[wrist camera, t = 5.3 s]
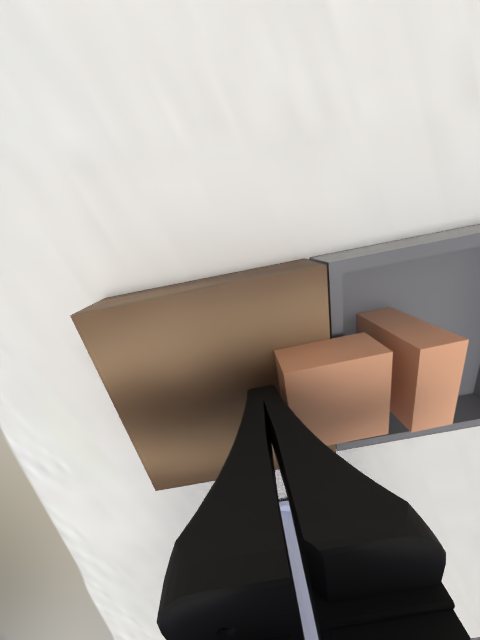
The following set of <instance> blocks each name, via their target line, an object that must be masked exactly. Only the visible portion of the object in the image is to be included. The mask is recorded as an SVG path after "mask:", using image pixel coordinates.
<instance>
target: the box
mask: <svg viewBox="0 0 480 640" xmlns="http://www.w3.org/2000/svg"><path fill="white" fill-rule="evenodd" d="M310 260H311V261H314V262H318V263H321V264H324V265H327V284H328V305H329V325H330V339H333V338H338V337H343V336H348V335H353V334H357V314H359V313H364V312H369V311H374V310H378V309H383V308H388V307H391V308H394V309H396V310H399V311H401V312H403V313H406V314H408V315H411V316H413V317H416V318H418V319H420V320H423V321H425V322H428V323H430V324H433V325H435V326H437V327H440V328H442V329H445V330H447V331H450V332H452V333H454V334H457V335H459V336H462V337H464V338H467V339H469V342H468V348H467V353H466V358H465V363H464V368H463V373H462V378H461V383H460V388H459V393H458V398H457V403H456V409H455V414H454V419H453V424H450V425H445V426H440V427H436V428H431V429H426V430H421V431H417V432H412V433H411V432H410V431H409V430H408V429H407V428H406V427H405V426H404V425H403V424H402V423H401V422H400V421H399V420H398V419H397V417H396V416H395V415H394V414H393V413H392V412H391V411H390V413H389V430H388V434H385V435H380V436H375V437H370V438H365V439H360V440H354V441H349V442H344V443H339V444H335V447H336V450H337V451H340V450H346V449H352V448H357V447H363V446H369V445H374V444H380V443H386V442H391V441H397V440H403V439H408V438H414V437H419V436H425V435H431V434H436V433H442V432H448V431H453V430H459V429H465V428H470V427H476V426H480V224H477V225H472V226H467V227H462V228H457V229H452V230H447V231H442V232H437V233H432V234H427V235H422V236H417V237H412V238H407V239H402V240H397V241H391V242H386V243H381V244H376V245H371V246H366V247H361V248H356V249H351V250H346V251H341V252H336V253H331V254H326V255H321V256H316V257H311V258H310Z"/></svg>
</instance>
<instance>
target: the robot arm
mask: <svg viewBox="0 0 480 640" xmlns="http://www.w3.org/2000/svg"><path fill="white" fill-rule="evenodd" d="M272 446H273V449H274V452H275V456H276V459H277V462H278V466H279V469H280V472H281V476H282V479H283V483H284V486H285V489H286V493H287V497H288V501H282V502H279V500H278V493H277V485H276V477H275V468H274V459H273V450H272ZM445 565H446V552H445V550H444V549H443V547H442V545H441V544H440V542H439V541H438V539H437V538H436V536H435V535H434V533H433V532H432V531H431V529H430V528H429V527H428V526H427V524H426V523H425V522H424V521H423V519H422V518H421V517H420V516H419V515H418V513H417V512H416V511H415V510H414V509H413V508H412V506H411V505H410V504H409V503H408V502H407V501H405V500H403V499H402V498H400V497H398V496H397V495H395V494H394V493H392V492H390V491H389V490H387V489H386V488H384V487H382V486H381V485H379V484H378V483H376V482H375V481H373V480H372V479H370V478H369V477H367V476H366V475H364V474H363V473H362V472H360V471H359V470H357V469H356V468H355V467H353V466H352V465H351V464H349V463H348V462H347V461H345V460H344V459H343V458H341V457H340V456H339V455H337V454H336V453H335V452H334V451H333V450H331V449H330V448H329V447H328V446H327V445H325V444H324V443H323V442H322V441H321V440H320V439H319V438H318V437H317V436H315V435H314V434H313V433H312V432H311V431H310V430H309V429H308V428H307V427H306V426H305V425H304V424H303V422H302V421H301V420H300V419H299V418H298V417H297V416H296V415H295V414H294V412H293V411H292V410H291V409H290V408H289V406H288V405H287V404H286V403H285V401H284V400H283V399H282V397H281V396H280V394H279V393H278V391H277V389H276V387H275V386H274V385H268V386H263V387H258V388H252V389H249V390H248V391H247V399H246V404H245V409H244V413H243V416H242V420H241V423H240V426H239V429H238V432H237V435H236V438H235V440H234V443H233V445H232V448H231V450H230V452H229V455H228V457H227V459H226V461H225V463H224V465H223V467H222V469H221V471H220V473H219V475H218V477H217V479H216V481H215V482H214V484H213V486H212V487H211V489H210V491H209V492H208V494H207V496H206V497H205V499H204V501H203V502H202V504H201V506H200V507H199V509H198V510H197V512H196V513H195V515H194V516H193V517H192V519H191V520H190V522H189V523H188V525H187V526H186V527H185V529H184V530H183V532H182V533H181V535H180V536H179V537H178V539H177V540H176V542H175V544H174V547H173V550H172V554H171V557H170V560H169V564H168V568H167V571H166V575H165V579H164V583H163V589H162V594H161V600H160V606H159V611H158V617H157V624H158V627H159V629H160V631H161V633H162V635H163V636H164V637H165V639H166V640H480V637H477V638H470V637H469V635H468V633H467V632H466V630H465V628H464V627H463V625H462V623H461V622H460V620H459V618H458V617H457V615H456V613H455V612H454V610H453V609H454V607H455V605H454V602H453V600H452V598H451V597H450V595H449V593H448V592H447V590H446V589H445V587H444V585H443V584H442V582H441V580H442V576H443V573H444V569H445Z"/></svg>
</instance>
